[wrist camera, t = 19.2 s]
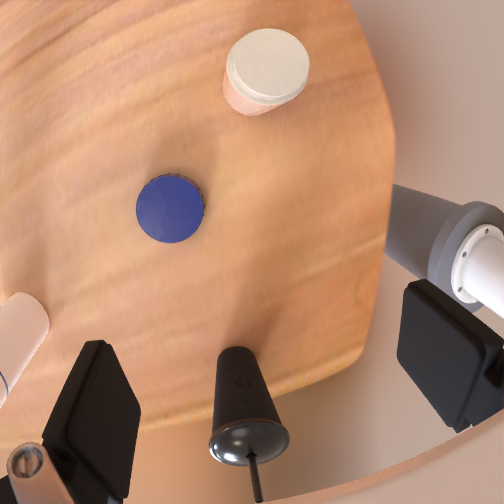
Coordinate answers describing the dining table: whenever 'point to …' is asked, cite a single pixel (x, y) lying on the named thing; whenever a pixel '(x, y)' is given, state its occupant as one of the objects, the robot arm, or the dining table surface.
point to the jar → (264, 71)
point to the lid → (170, 208)
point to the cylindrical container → (19, 337)
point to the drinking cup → (245, 416)
